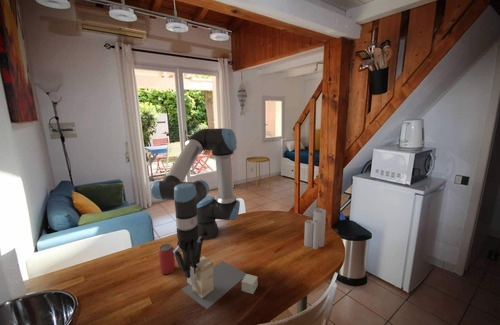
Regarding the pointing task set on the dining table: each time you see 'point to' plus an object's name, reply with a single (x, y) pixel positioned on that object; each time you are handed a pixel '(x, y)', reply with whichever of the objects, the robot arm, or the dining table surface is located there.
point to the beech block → (203, 278)
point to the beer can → (166, 259)
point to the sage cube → (249, 283)
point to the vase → (315, 229)
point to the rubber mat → (218, 284)
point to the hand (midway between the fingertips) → (191, 282)
